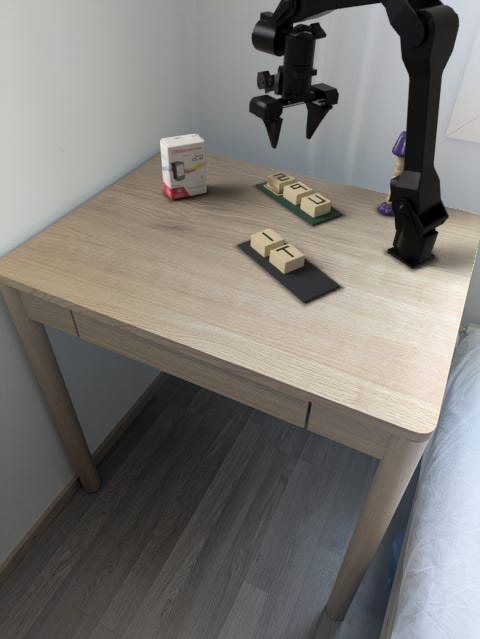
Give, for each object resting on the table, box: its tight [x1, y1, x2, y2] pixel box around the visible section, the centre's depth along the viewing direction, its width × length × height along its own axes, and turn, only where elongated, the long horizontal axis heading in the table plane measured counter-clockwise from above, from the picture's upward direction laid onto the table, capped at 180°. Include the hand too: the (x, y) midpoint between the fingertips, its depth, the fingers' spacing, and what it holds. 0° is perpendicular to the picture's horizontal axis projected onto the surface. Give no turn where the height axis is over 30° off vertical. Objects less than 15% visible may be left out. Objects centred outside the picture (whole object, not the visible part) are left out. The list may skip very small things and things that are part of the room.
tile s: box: [266, 171, 296, 194], centre depth 110 cm, size 4×4×3 cm
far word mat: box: [255, 181, 343, 227], centre depth 107 cm, size 20×8×3 cm, turn 34°
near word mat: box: [237, 228, 341, 304], centre depth 89 cm, size 20×8×3 cm, turn 34°
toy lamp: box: [377, 130, 406, 217], centre depth 100 cm, size 5×5×17 cm
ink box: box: [159, 133, 208, 200], centre depth 106 cm, size 9×5×12 cm, turn 116°
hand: (291, 143), depth 103 cm, fingers open, 9 cm apart
